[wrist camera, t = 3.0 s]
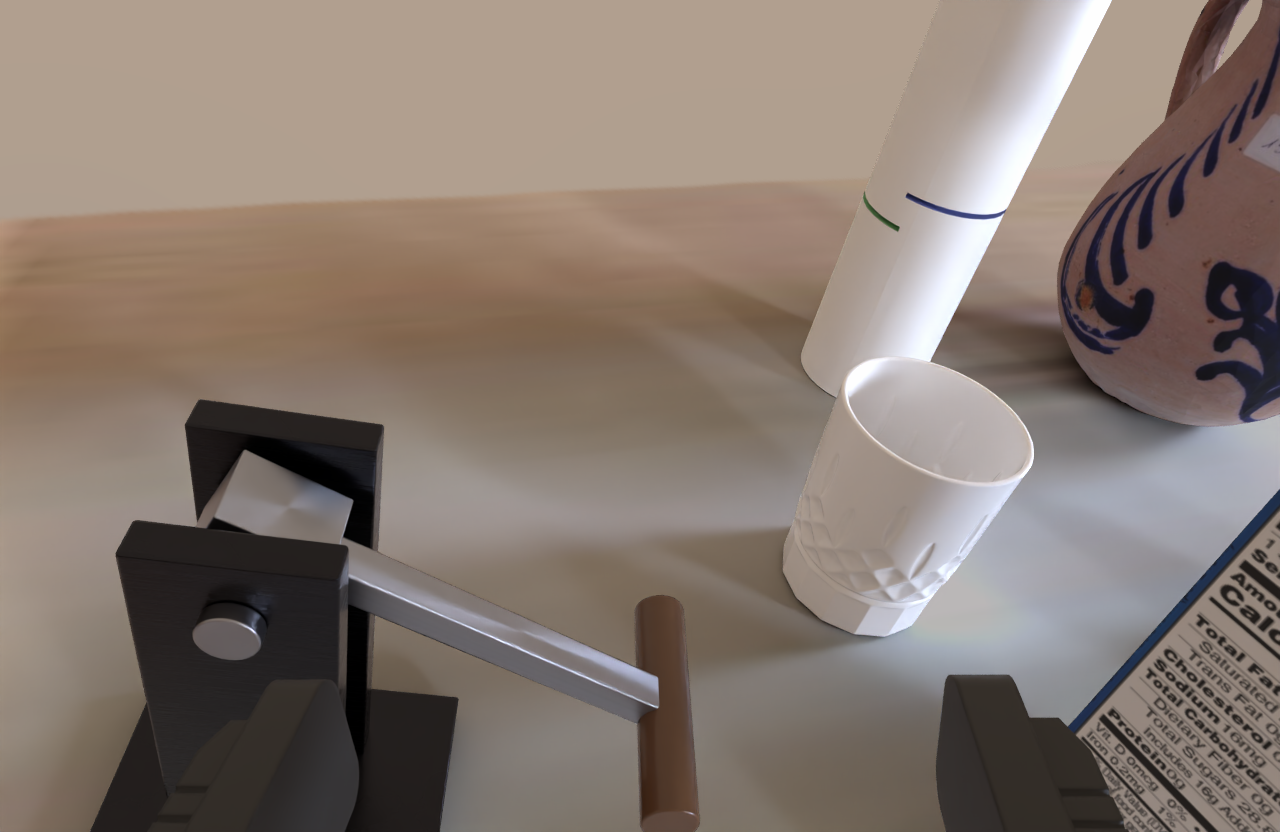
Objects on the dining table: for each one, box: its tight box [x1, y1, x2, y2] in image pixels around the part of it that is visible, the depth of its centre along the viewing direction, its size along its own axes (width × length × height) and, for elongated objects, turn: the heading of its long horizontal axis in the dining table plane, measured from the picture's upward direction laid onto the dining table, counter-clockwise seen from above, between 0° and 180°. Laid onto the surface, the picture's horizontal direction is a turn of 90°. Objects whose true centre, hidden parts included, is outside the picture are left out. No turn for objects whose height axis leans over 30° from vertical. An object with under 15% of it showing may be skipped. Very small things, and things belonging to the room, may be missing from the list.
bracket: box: [90, 399, 458, 832], centre depth 25 cm, size 10×8×15 cm
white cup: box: [783, 356, 1034, 637], centre depth 40 cm, size 8×8×10 cm
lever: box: [196, 450, 700, 832], centre depth 24 cm, size 14×7×2 cm, turn 90°
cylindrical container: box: [801, 0, 1111, 398], centre depth 49 cm, size 7×7×25 cm
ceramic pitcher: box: [1057, 0, 1280, 427], centre depth 57 cm, size 18×21×25 cm
